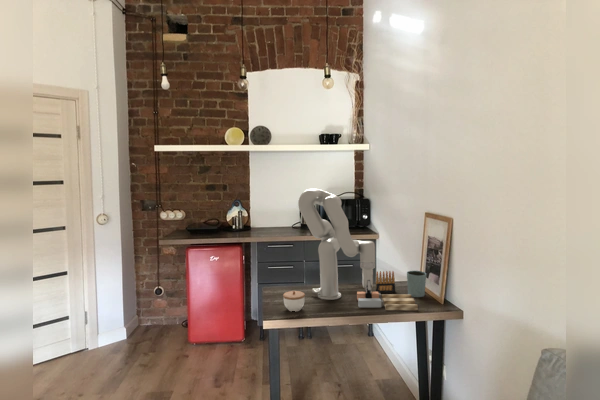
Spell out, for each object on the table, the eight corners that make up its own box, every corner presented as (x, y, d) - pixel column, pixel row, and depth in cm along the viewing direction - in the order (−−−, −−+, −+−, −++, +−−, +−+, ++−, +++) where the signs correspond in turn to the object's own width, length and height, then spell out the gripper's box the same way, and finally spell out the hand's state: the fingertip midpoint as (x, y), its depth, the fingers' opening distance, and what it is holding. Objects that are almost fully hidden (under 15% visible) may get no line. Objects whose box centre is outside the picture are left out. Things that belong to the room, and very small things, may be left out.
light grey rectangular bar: (358, 307, 186) (358, 300, 186) (358, 305, 190) (358, 298, 190) (383, 307, 185) (383, 300, 185) (382, 305, 189) (382, 298, 189)
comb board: (385, 310, 182) (385, 305, 181) (381, 299, 198) (381, 294, 197) (417, 310, 180) (417, 305, 180) (410, 299, 196) (410, 294, 196)
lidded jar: (307, 306, 190) (306, 288, 190) (302, 313, 180) (302, 294, 179) (286, 305, 193) (286, 287, 192) (281, 312, 182) (280, 293, 182)
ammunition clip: (394, 291, 211) (394, 270, 210) (395, 292, 209) (395, 271, 208) (375, 291, 211) (375, 270, 210) (376, 292, 209) (375, 271, 208)
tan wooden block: (357, 300, 196) (357, 293, 196) (357, 298, 200) (357, 291, 200) (381, 300, 195) (381, 293, 195) (380, 298, 199) (380, 291, 199)
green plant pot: (406, 291, 209) (405, 270, 208) (425, 292, 207) (424, 270, 206) (407, 297, 199) (407, 275, 198) (427, 298, 197) (427, 275, 196)
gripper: (359, 261, 205) (360, 294, 206) (361, 268, 189) (362, 304, 190) (373, 261, 204) (373, 294, 206) (376, 268, 188) (377, 304, 189)
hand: (368, 298), depth 198 cm, fingers closed on tan wooden block, 3 cm apart
